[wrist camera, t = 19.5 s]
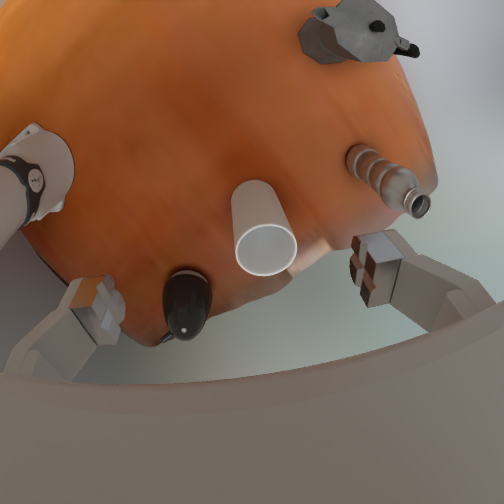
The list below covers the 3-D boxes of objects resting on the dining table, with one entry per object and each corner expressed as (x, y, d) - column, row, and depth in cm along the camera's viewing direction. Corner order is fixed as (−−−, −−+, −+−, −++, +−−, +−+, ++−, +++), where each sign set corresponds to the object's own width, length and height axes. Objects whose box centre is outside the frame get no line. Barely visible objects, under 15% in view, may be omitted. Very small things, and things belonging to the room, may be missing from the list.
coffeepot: (281, 56, 36) (317, 43, 21) (289, 7, 31) (328, -28, 16) (367, 78, 38) (433, 88, 24) (375, 33, 33) (442, 25, 18)
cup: (221, 202, 50) (222, 254, 37) (253, 170, 47) (267, 212, 34) (254, 229, 54) (265, 285, 40) (285, 199, 51) (309, 249, 38)
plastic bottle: (346, 179, 49) (402, 236, 33) (338, 146, 46) (399, 191, 29) (376, 169, 48) (439, 220, 32) (369, 137, 45) (438, 176, 28)
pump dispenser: (155, 275, 58) (142, 330, 45) (194, 254, 55) (189, 310, 43) (183, 305, 63) (178, 359, 51) (221, 287, 61) (223, 343, 49)
